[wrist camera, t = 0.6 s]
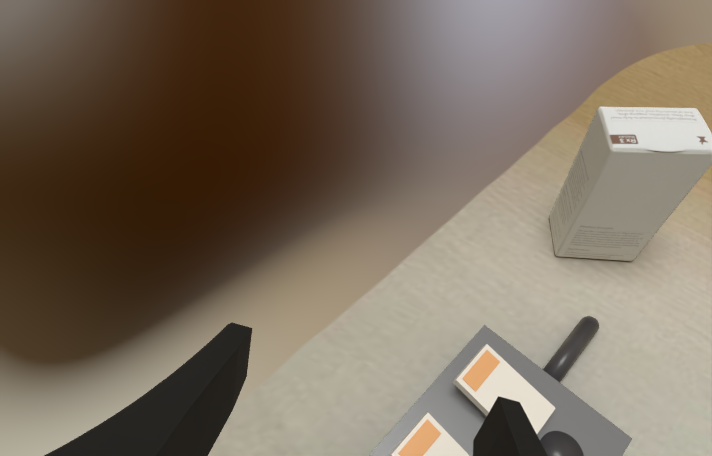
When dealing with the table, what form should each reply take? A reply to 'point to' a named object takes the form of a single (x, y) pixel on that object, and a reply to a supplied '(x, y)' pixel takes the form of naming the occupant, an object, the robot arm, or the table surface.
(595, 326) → the power strip
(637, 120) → the skincare box
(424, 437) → the rocker
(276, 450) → the table surface
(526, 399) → the rocker
